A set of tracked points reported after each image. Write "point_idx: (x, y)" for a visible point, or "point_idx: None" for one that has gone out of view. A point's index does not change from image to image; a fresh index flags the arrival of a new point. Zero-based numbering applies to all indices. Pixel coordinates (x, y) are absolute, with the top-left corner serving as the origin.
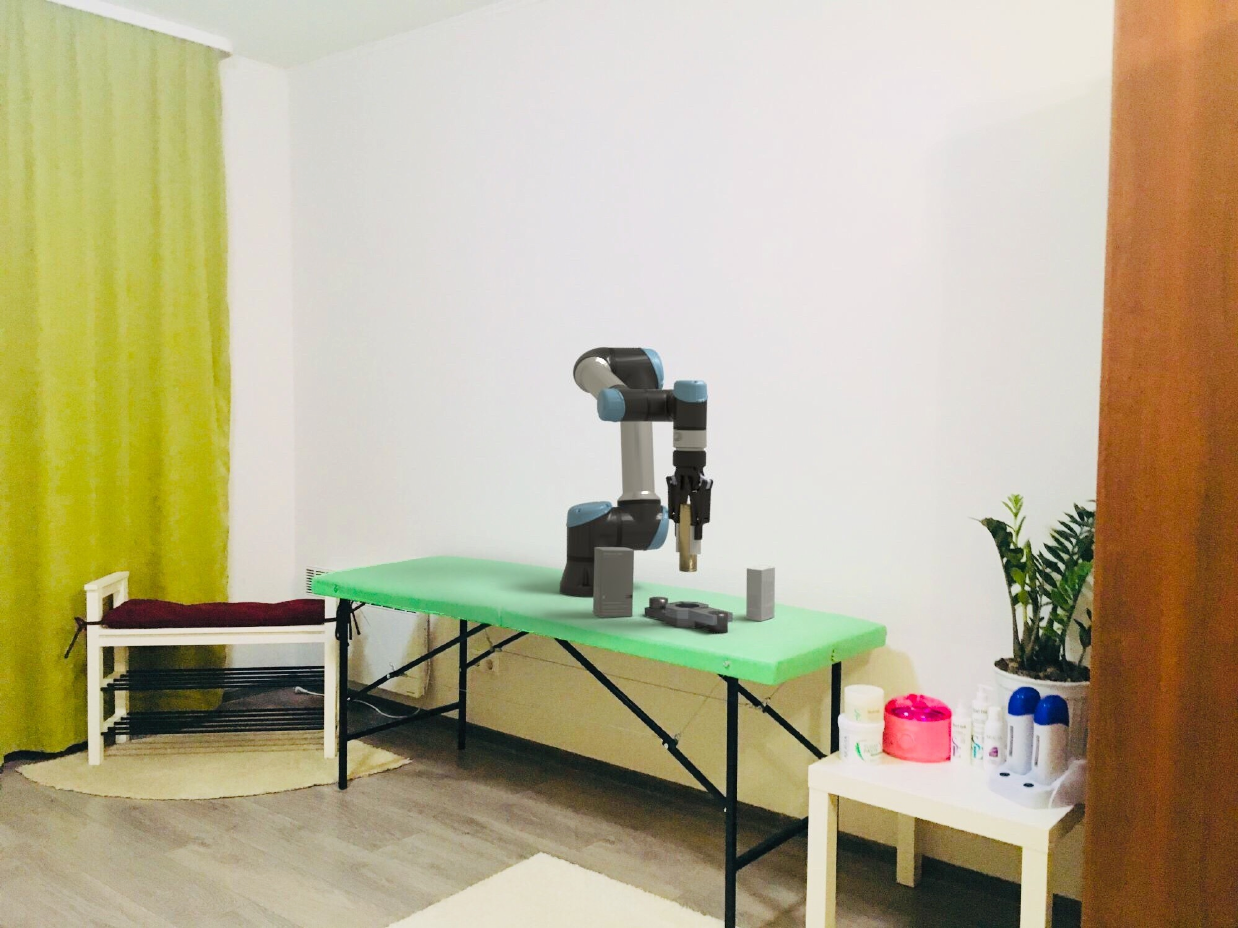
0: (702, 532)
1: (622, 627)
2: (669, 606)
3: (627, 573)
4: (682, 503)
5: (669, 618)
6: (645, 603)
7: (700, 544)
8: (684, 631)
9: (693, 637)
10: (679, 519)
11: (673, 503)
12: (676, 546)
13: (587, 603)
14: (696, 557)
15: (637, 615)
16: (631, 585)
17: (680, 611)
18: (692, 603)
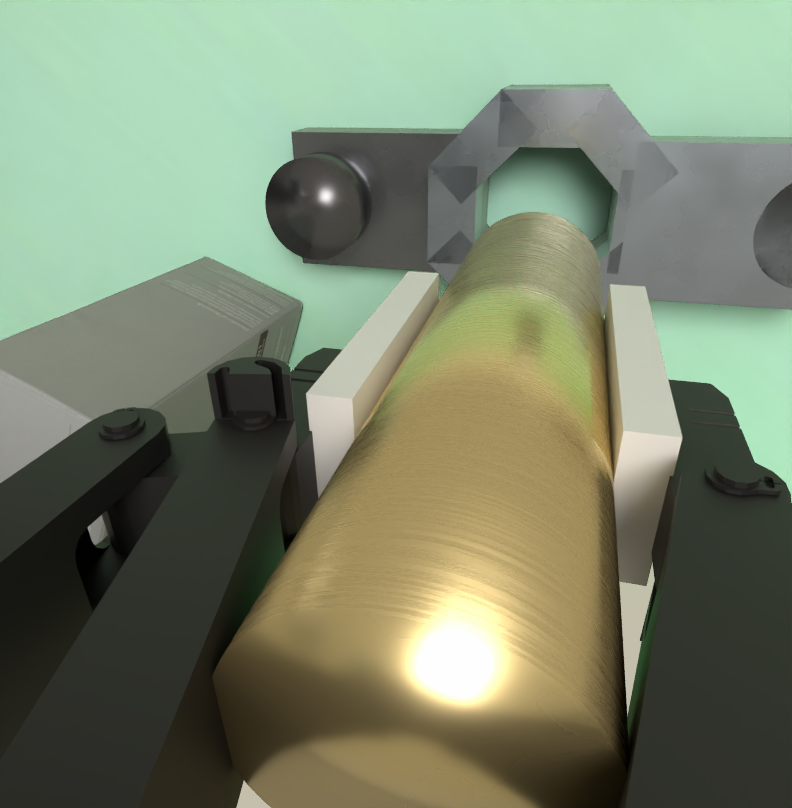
0: (740, 429)
1: None
2: None
3: (199, 402)
4: (223, 744)
5: None
6: (91, 48)
7: (651, 324)
8: (659, 333)
9: (768, 385)
10: (294, 514)
11: (30, 691)
12: None
13: (24, 270)
14: (597, 288)
15: (295, 268)
16: (237, 357)
17: None
18: (517, 148)
